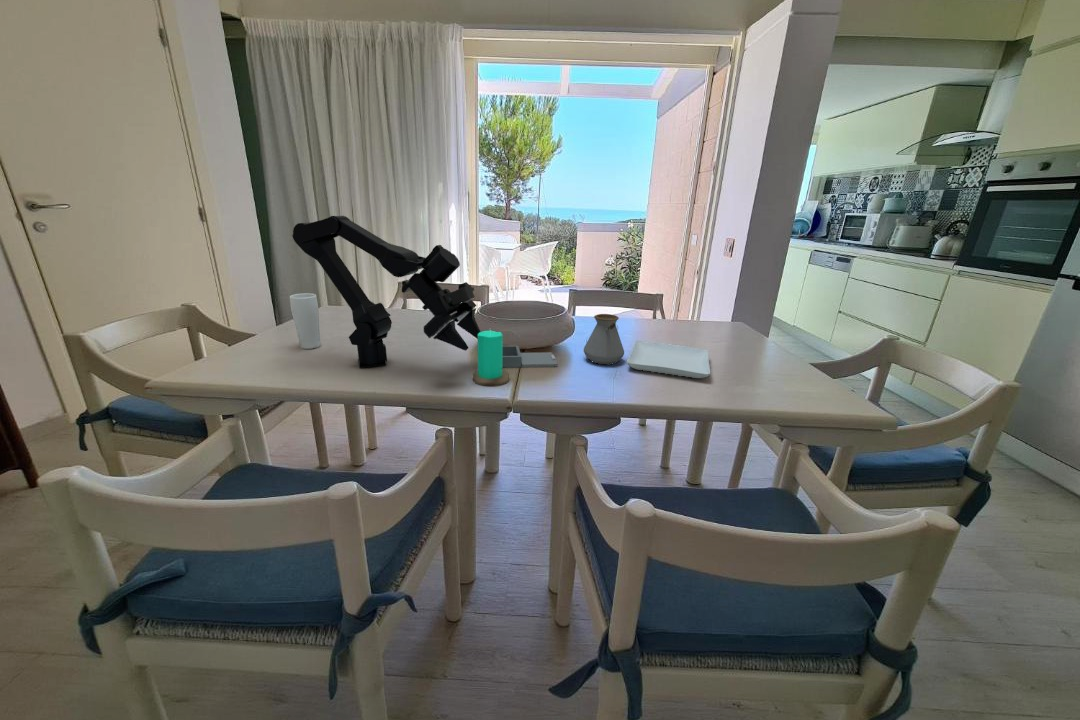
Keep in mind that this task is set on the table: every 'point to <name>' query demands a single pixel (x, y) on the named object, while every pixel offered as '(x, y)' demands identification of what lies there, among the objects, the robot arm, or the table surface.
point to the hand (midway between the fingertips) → (474, 343)
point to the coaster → (491, 382)
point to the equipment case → (526, 358)
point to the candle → (490, 354)
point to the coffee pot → (604, 341)
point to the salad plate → (670, 359)
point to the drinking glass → (306, 319)
